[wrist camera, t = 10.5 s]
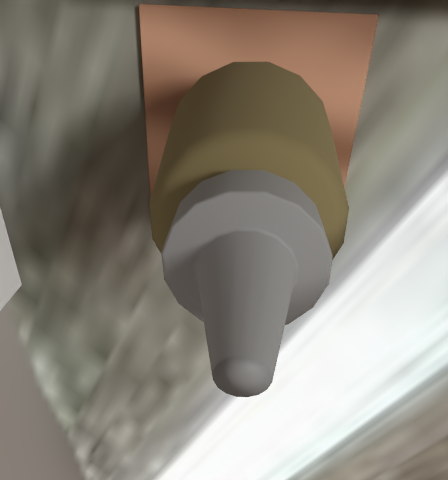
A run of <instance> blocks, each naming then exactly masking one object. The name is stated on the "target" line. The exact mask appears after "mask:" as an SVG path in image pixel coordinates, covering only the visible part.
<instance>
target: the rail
mask: <svg viewBox="0 0 448 480" xmlns="http://www.w3.org/2000/svg"><path fill="white" fill-rule="evenodd" d="M139 13H140V30H141V47H142V64H143V81H144V98H145V115H146V132H147V149H148V166H149V183H150V199H151V195H152V192H153V188H154V184H155V181H156V177H157V174H158V170H159V166H160V163H161V159H162V156H163V152H164V148H165V145H166V141H167V138H168V134H169V131H170V128H171V125H172V122H173V119H174V116H175V113H176V110H177V107H178V104H179V101H180V100H181V99H182V98H183V97H184V96H185V94H186V93H187V92H188V91H189V90H190V89H191V88H192V87H193V85H194V84H195V83H196V82H197V81H198V80H199V79H200V78H201V76H203V75H206V74H208V73H210V72H212V71H214V70H217V69H219V68H221V67H223V66H225V65H228V64H230V63H232V62H271V63H273V64H275V65H277V66H279V67H282V68H284V69H286V70H288V71H291V72H293V73H295V74H297V75H300V76H301V77H302V78H303V79H304V81H305V82H306V83H307V84H308V85H309V86H310V87H311V89H312V90H313V91H314V92H315V93H316V94H317V95H318V97H319V98H320V99H321V100H322V101H323V104H324V107H325V110H326V114H327V117H328V120H329V124H330V127H331V130H332V134H333V139H334V143H335V148H336V152H337V157H338V161H339V166H340V170H341V175H342V179H343V184H344V186H345V181H346V176H347V171H348V166H349V161H350V156H351V151H352V146H353V141H354V136H355V131H356V127H357V122H358V117H359V112H360V107H361V102H362V97H363V92H364V87H365V82H366V77H367V72H368V67H369V62H370V57H371V52H372V47H373V42H374V37H375V32H376V27H377V22H378V17H379V15H377V14H355V13H332V12H310V11H287V10H265V9H242V8H220V7H197V6H175V5H152V4H139Z"/></svg>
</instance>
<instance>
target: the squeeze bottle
mask: <svg viewBox="0 0 448 480" xmlns="http://www.w3.org/2000/svg"><path fill="white" fill-rule="evenodd" d="M149 211H150V220H151V229H152V237H153V240H154V242H155V244H156V246H157V247H158V249H159V251H160V252H161V254H162V263H163V272H164V280H165V281H166V283H167V285H168V286H169V288H170V290H171V291H172V293H173V295H174V296H175V298H176V300H177V301H178V303H179V304H180V305H181V306H183V307H184V308H185V309H187V310H188V311H189V312H191V313H192V314H193V315H194V316H196V317H197V318H198V319H200V320H201V321H203V322H204V325H205V331H206V338H207V344H208V351H209V357H210V363H211V370H212V376H213V380H214V382H215V384H216V385H217V387H218V388H219V389H221V390H222V391H224V392H225V393H227V394H230V395H233V396H236V397H250V396H254V395H259V394H260V393H262V392H264V391H265V390H267V389H268V387H269V386H270V384H271V383H272V380H273V375H274V371H275V366H276V362H277V357H278V353H279V348H280V344H281V339H282V335H283V330H284V326H285V325H286V324H289V323H291V322H292V321H294V320H295V319H297V318H298V317H299V316H301V315H302V314H304V313H305V312H307V311H308V310H310V309H311V308H313V307H314V305H315V304H316V302H317V301H318V299H319V298H320V296H321V295H322V293H323V292H324V290H325V289H326V287H327V286H328V284H329V278H330V271H331V264H332V260H333V258H334V257H335V255H336V254H337V252H338V251H339V249H340V248H341V246H342V244H343V243H344V237H345V230H346V224H347V217H348V211H349V206H348V202H347V197H346V193H345V188H344V184H343V179H342V175H341V170H340V166H339V161H338V157H337V152H336V148H335V143H334V139H333V134H332V130H331V127H330V124H329V120H328V117H327V114H326V110H325V107H324V104H323V101H322V100H321V99H320V98H319V97H318V95H317V94H316V93H315V92H314V91H313V90H312V89H311V87H310V86H309V85H308V84H307V83H306V82H305V81H304V79H303V78H302V77H301V76H300V75H297V74H295V73H293V72H291V71H288V70H286V69H284V68H282V67H279V66H277V65H275V64H273V63H271V62H232V63H230V64H228V65H225V66H223V67H221V68H219V69H217V70H214V71H212V72H210V73H208V74H206V75H203V76H201V78H200V79H199V80H198V81H197V82H196V83H195V84H194V85H193V87H192V88H191V89H190V90H189V91H188V92H187V93H186V94H185V96H184V97H183V98H182V99H181V100H180V101H179V104H178V107H177V110H176V113H175V116H174V119H173V122H172V125H171V128H170V131H169V134H168V138H167V141H166V145H165V148H164V152H163V156H162V159H161V163H160V166H159V170H158V174H157V177H156V181H155V184H154V188H153V192H152V195H151V199H150V202H149Z"/></svg>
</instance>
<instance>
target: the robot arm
mask: <svg viewBox="0 0 448 480" xmlns="http://www.w3.org/2000/svg"><path fill="white" fill-rule="evenodd" d="M21 285H22V284H21V281H20V277H19V274H18V270H17V266H16V263H15V259H14V255H13V252H12V248H11V245H10V241H9V237H8V234H7V230H6V227H5V223H4V219H3V216H2V212H1V209H0V311H1V310H2V308H3V307H4V306H5V305H6V304H7V302H8V301H9V300H10V299H11V297H12V296H13V295H14V294H15V293H16V291H17V290H18V289H19V288H20V286H21Z"/></svg>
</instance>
